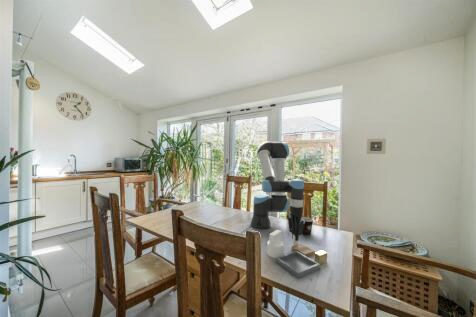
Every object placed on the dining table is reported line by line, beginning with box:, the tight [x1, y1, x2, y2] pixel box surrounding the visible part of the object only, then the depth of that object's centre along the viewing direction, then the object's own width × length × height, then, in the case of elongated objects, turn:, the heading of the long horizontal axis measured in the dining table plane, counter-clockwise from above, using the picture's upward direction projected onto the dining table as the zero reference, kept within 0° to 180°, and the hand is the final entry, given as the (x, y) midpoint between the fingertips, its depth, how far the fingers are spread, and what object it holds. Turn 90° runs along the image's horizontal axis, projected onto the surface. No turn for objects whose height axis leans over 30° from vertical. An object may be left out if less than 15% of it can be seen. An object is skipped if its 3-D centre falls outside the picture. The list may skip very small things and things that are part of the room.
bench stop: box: [314, 249, 328, 266], centre depth 105 cm, size 3×6×5 cm, turn 121°
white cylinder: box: [266, 229, 285, 259], centre depth 112 cm, size 9×9×12 cm
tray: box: [274, 251, 321, 279], centre depth 101 cm, size 15×15×3 cm
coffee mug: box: [302, 216, 314, 236], centre depth 142 cm, size 12×9×10 cm
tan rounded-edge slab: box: [290, 243, 316, 258], centre depth 115 cm, size 10×8×2 cm
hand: (295, 245), depth 119 cm, fingers closed
